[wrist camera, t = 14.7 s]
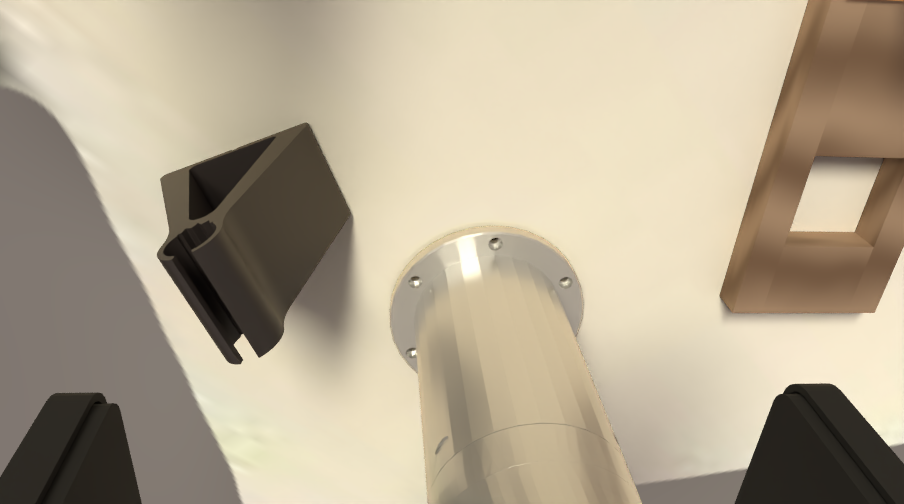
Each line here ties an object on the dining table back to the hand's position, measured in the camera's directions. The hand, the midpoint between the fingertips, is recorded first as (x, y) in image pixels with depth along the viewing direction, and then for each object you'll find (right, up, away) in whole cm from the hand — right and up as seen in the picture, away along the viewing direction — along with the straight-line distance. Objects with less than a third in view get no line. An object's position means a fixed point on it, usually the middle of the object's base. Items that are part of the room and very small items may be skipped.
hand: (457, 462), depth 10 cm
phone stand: (-11, +7, +30) cm, 33 cm away
